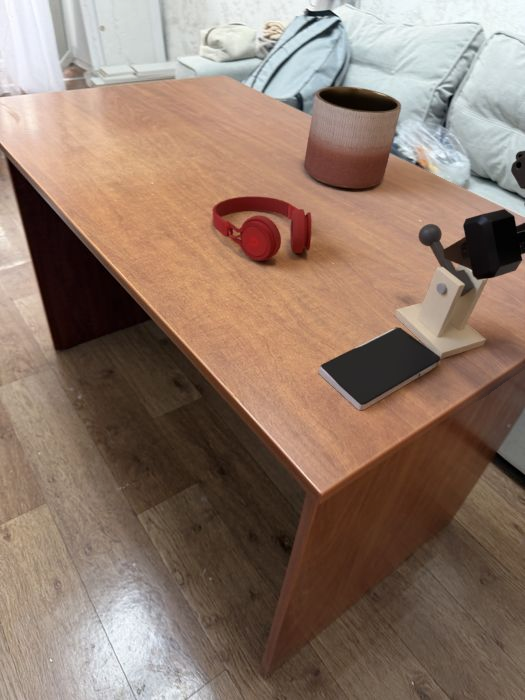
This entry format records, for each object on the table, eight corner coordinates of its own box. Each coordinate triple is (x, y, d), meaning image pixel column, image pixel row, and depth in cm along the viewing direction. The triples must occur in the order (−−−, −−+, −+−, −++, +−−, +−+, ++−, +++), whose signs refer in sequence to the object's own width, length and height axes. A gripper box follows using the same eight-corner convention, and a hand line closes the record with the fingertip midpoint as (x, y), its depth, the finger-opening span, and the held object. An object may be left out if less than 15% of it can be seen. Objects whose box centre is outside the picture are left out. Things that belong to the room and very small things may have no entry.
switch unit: (394, 315, 72) (414, 258, 65) (435, 304, 75) (458, 248, 68) (439, 359, 65) (466, 301, 59) (482, 345, 68) (513, 288, 62)
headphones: (327, 255, 82) (270, 216, 96) (331, 213, 77) (271, 180, 92) (248, 272, 76) (200, 228, 90) (248, 228, 72) (198, 189, 86)
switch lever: (410, 234, 68) (422, 221, 66) (427, 231, 69) (439, 218, 67) (447, 301, 65) (461, 289, 62) (463, 296, 66) (478, 285, 63)
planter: (368, 200, 100) (388, 119, 90) (290, 177, 105) (300, 98, 95) (391, 172, 112) (412, 98, 102) (321, 153, 117) (333, 80, 107)
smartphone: (317, 365, 61) (397, 325, 68) (316, 372, 62) (395, 331, 69) (363, 406, 56) (443, 359, 64) (360, 413, 57) (440, 365, 64)
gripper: (652, 117, 47) (510, 169, 62) (531, 135, 40) (399, 190, 54) (668, 230, 49) (525, 256, 63) (554, 269, 41) (420, 289, 55)
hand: (471, 246), depth 59 cm, fingers open, 9 cm apart
